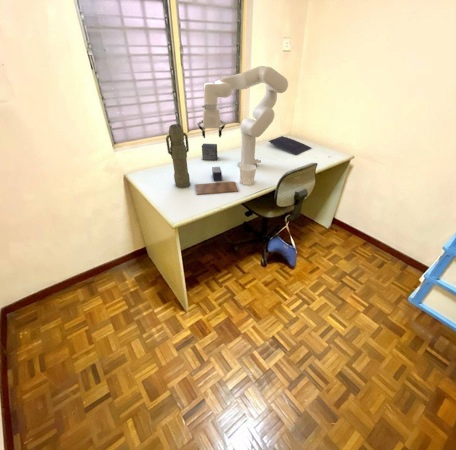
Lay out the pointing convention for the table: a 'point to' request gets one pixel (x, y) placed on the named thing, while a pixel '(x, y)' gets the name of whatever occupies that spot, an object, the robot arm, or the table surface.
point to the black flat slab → (289, 145)
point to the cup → (247, 174)
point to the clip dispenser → (217, 173)
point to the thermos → (178, 155)
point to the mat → (216, 188)
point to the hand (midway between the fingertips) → (212, 137)
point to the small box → (209, 151)
